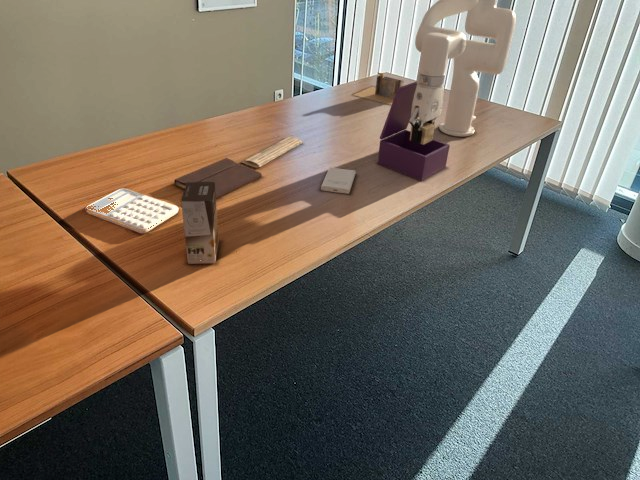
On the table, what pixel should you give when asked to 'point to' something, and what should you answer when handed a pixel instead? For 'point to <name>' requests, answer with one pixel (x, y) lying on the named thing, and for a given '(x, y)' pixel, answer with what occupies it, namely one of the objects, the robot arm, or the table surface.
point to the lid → (399, 111)
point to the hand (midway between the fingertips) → (421, 139)
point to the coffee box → (200, 222)
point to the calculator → (134, 210)
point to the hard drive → (338, 180)
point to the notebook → (221, 176)
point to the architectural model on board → (382, 89)
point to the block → (426, 132)
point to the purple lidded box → (412, 155)
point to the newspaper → (272, 152)
